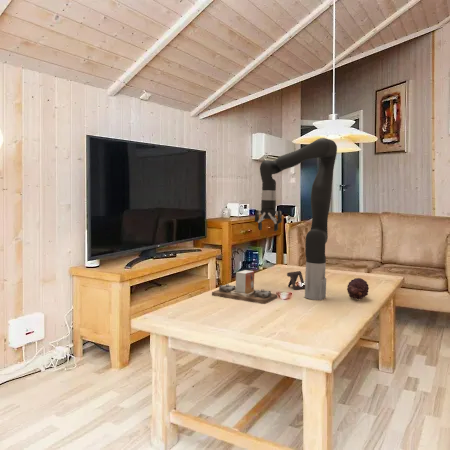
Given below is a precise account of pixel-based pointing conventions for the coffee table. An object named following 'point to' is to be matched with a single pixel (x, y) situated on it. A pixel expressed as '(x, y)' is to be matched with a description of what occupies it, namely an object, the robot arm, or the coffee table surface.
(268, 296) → the gear board
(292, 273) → the portable electronic device stand
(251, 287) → the small box
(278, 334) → the coffee table surface
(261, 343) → the coffee table surface
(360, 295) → the pine cone
